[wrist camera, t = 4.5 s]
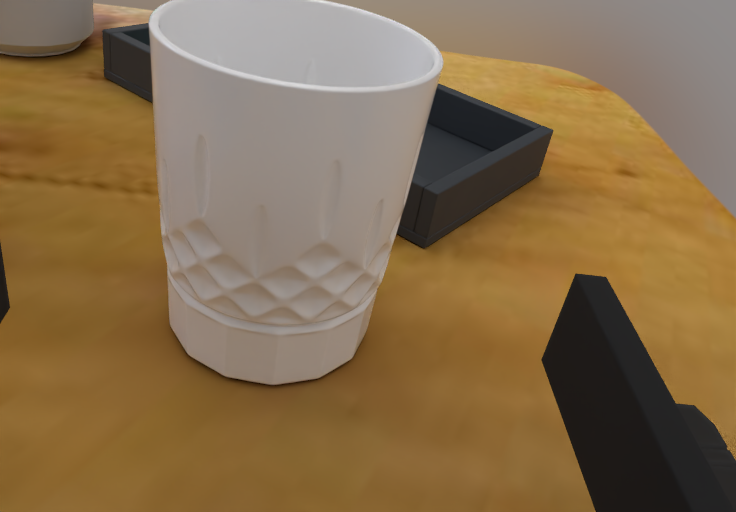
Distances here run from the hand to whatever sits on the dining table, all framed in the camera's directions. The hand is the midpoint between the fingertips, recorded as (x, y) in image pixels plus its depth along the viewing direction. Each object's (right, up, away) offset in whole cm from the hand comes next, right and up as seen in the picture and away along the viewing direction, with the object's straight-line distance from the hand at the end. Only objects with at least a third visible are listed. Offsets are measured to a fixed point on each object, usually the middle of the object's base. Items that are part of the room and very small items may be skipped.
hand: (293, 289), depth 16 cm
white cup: (-2, -2, +8) cm, 9 cm away
